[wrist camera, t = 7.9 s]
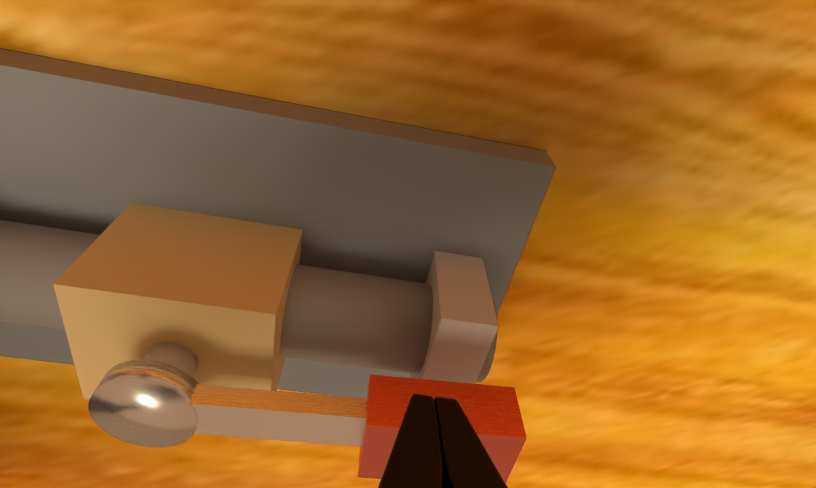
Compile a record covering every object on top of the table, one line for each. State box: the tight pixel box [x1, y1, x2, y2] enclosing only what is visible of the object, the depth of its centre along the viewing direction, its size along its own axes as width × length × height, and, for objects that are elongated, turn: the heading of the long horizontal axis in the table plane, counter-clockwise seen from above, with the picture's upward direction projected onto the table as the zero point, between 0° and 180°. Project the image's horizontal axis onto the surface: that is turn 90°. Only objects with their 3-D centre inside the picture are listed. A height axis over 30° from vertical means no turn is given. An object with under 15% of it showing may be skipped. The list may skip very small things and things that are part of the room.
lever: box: [89, 360, 526, 483], centre depth 15 cm, size 12×3×2 cm, turn 82°
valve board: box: [0, 49, 556, 400], centre depth 18 cm, size 14×24×8 cm, turn 79°
